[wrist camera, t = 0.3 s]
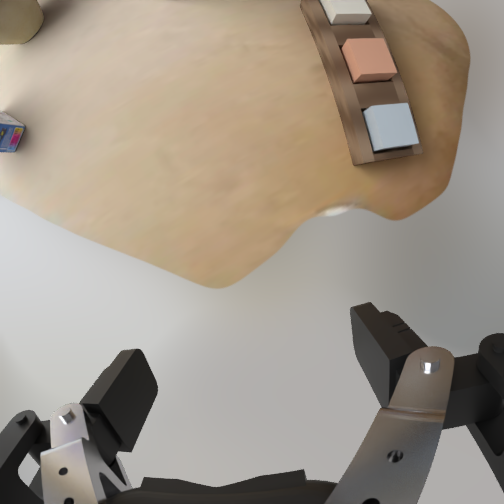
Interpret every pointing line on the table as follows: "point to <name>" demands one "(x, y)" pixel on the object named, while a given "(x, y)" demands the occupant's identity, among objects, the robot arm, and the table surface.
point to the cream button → (345, 12)
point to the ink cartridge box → (9, 132)
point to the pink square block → (368, 60)
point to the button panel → (360, 94)
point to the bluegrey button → (390, 126)
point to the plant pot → (19, 20)
